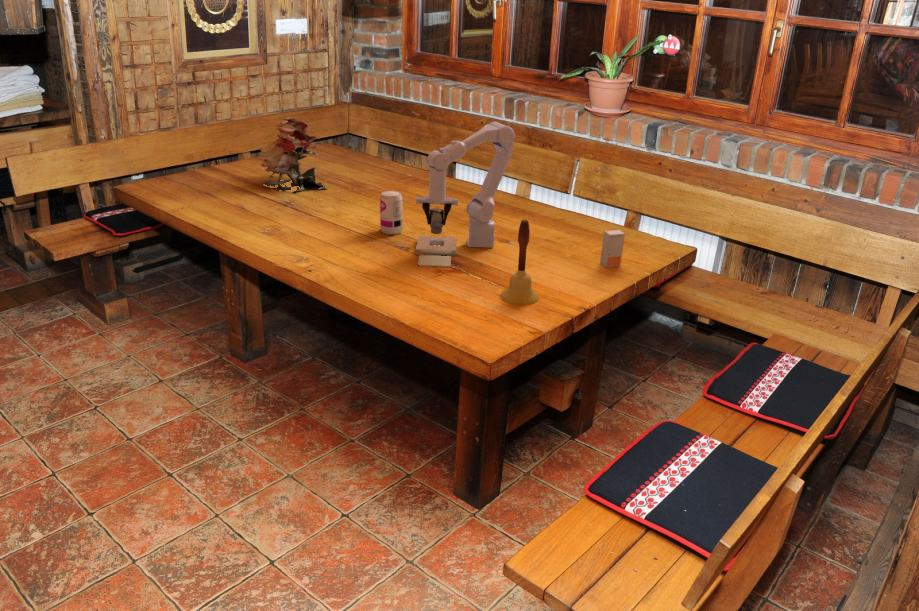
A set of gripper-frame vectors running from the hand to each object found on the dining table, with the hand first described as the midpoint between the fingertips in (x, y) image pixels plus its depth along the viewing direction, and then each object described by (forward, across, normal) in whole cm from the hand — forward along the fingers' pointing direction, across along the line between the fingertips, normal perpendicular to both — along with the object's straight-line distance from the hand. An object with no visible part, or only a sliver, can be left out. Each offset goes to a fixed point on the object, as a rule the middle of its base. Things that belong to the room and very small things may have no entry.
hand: (436, 224), depth 271 cm
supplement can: (+10, -18, +18) cm, 28 cm away
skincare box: (+10, +61, -7) cm, 62 cm away
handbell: (+10, +28, -37) cm, 48 cm away
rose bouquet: (+10, -69, +74) cm, 101 cm away
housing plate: (+10, 0, +2) cm, 10 cm away
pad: (+10, 0, -10) cm, 15 cm away
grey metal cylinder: (+3, 0, 0) cm, 3 cm away
